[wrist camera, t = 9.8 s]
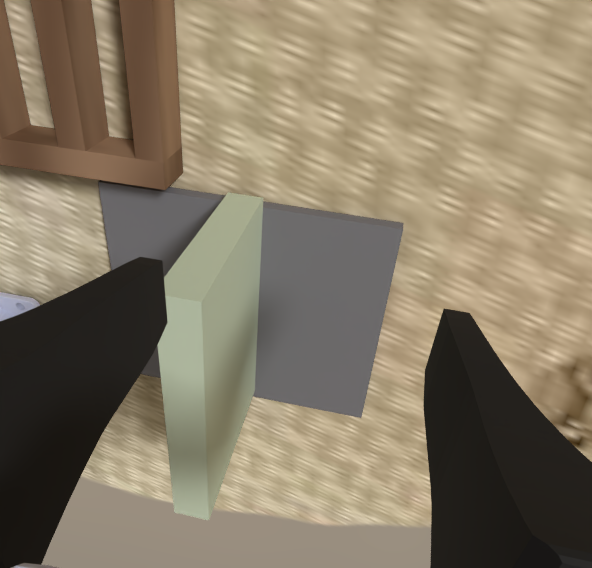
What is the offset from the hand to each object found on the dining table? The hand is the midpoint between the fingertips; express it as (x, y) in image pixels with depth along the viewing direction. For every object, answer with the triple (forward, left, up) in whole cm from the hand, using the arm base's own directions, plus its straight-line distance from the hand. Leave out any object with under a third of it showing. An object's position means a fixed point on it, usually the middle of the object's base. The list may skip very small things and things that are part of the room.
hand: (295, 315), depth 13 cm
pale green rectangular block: (-4, -8, -10) cm, 13 cm away
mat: (-4, -8, -10) cm, 14 cm away
